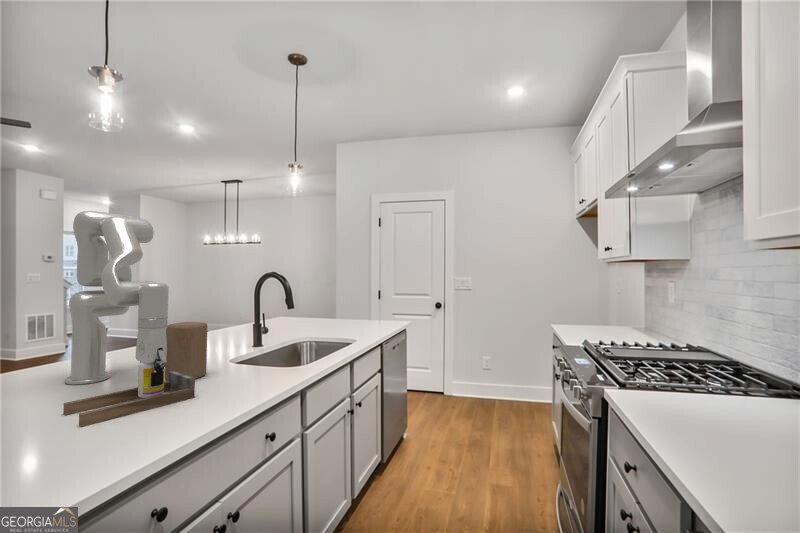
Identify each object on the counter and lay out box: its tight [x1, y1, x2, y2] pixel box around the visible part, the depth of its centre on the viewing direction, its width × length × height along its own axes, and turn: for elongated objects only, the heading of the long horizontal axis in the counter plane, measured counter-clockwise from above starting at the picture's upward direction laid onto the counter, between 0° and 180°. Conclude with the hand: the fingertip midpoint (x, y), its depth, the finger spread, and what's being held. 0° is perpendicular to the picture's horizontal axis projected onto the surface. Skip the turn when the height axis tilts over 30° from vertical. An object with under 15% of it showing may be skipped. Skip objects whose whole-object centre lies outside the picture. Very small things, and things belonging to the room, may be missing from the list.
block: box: [164, 321, 208, 381], centre depth 139 cm, size 10×10×20 cm
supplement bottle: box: [137, 360, 165, 399], centre depth 114 cm, size 7×7×13 cm
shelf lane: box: [62, 371, 196, 428], centre depth 110 cm, size 14×28×6 cm, turn 145°
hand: (151, 382), depth 114 cm, fingers closed on supplement bottle, 6 cm apart
